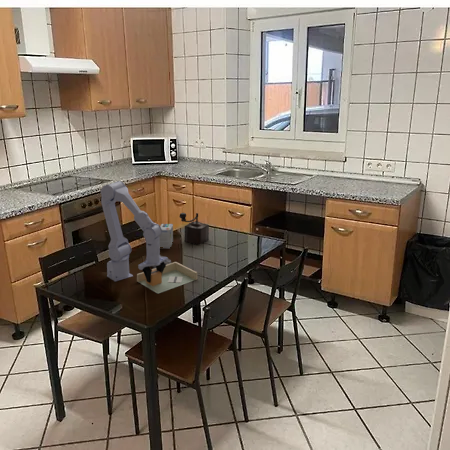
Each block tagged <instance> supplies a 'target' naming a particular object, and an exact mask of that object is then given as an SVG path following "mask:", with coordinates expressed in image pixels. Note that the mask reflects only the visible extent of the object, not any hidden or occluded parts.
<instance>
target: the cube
mask: <svg viewBox="0 0 450 450" xmlns="http://www.w3.org/2000/svg"><path fill="white" fill-rule="evenodd" d="M153 269H154V268H153ZM146 282H147V280H146ZM147 283H148V284H150V285H152V286H154V285H157V284H160V283H162V273H161V272H160V271H158V270H156V269H154V270H152V272H151V282H150V283H149V282H147Z"/></svg>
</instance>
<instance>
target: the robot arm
mask: <svg viewBox="0 0 450 450" xmlns="http://www.w3.org/2000/svg"><path fill="white" fill-rule="evenodd" d="M100 194H101V195H100V196H101V199H100V200H101V201H100V203H101V207H102V211H103V214H104V215H103V216H104V218H105V222H106V226H107V229H108V232H109V233H108V234H109V236H110V242H109V244H108V257H109V259H110V260H109V261H108V262H107V263H106V268H107V269H106V274H107V275H106V277H107V278H109V279H110V280H112V281H113V282H118V281H122V280H124V279H128V278H131V277H134V275H133V274H132V273H130V261H129V260H130V259H129V258H130V254H131V252H132V250H133V249H132V246H131V244H130V243H129V240H128V238H126V237H125V236H124V234H123V231H122V227H121V223H120V219H119V215H118V211H117V207H116V202H121V203H122V204H124V206H125V207H126V208H127V209H128V210H129V211H130V212H131V213H132V214H133V221H135V222H136V224H137V225H138V226H139V227H140V229H141V230H142V231H143V232H142V236H143V237H144V239H145V244H146V245H145V247H146V258H147V261H145V260H144V261H143V262H141V263H140V264H138V265H137V266H138V267H137V268H138V269H139V270H140V271H142V272H144V274H145V277H146V280H147V282H149V283H150V282H151V272H152V270H151V267H152V266H154V265H156V270H158V271H160V272H161V273H163V270H164V268H165V267H166V264H165V263H164V262H168V259H169V258H168V257H167V256H163V257H160V256H161V254H160V253H161V252H160V251H161V250H160V249H161V248H160V240H159V237H158V236H160V235H161V233H162V229H161V227H160V226H161V224H158V223H156V222H154V221H153V220H152V219H151V217H150V216H149V214H148V213H147V212H146V211H144V210H141V208H139V206H138V204H137V203H136V201H134V199H133V197H132V196H131V194H130V193H129V188H128V187H127V186H126V184H125V183H124V182H123V181H120V180H118V181H115V182H112V183H108V184H105V185H103V186H102V188H101V189H100Z"/></svg>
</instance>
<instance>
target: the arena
mask: <svg viewBox="0 0 450 450" xmlns="http://www.w3.org/2000/svg"><path fill="white" fill-rule="evenodd" d="M150 269H151V268H150ZM154 269H156V268H154V267H153V268H152V269H151V270H154ZM197 280H198V271H195V270H193V269H191V268H189V267H188V266H185V265H184V264H181V263H179V262H178V261H174V262H171V263H170V264H167V265H166V267H165V268H164V270H163V273H162V283H160V284H157V285H154V286H152V285H150V284H148V283H147V282H146V277H145V274H144V272H143V271H142V272H139V273H136V282H138V283H140V284H141V285H143V286H144V287H146V288H147V289H149V290H151V291H152V292H154V293H155V294H161V293H164V292H167V291H169V290H171V289H175V288H177V287H181V286H182V285H186V284H189V283H191V282H194V281H197Z"/></svg>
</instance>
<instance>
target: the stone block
mask: <svg viewBox="0 0 450 450" xmlns="http://www.w3.org/2000/svg"><path fill="white" fill-rule="evenodd" d="M160 257H164V256H163V255H160ZM145 261H147V257H146V258H145V260H144V262H145ZM164 263H165V264H166V265H167V264H170V263H172V260H171V259H169V258H168V262H164ZM151 267H152V268H153V269H154V268H156V265H154V266H151Z"/></svg>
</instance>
